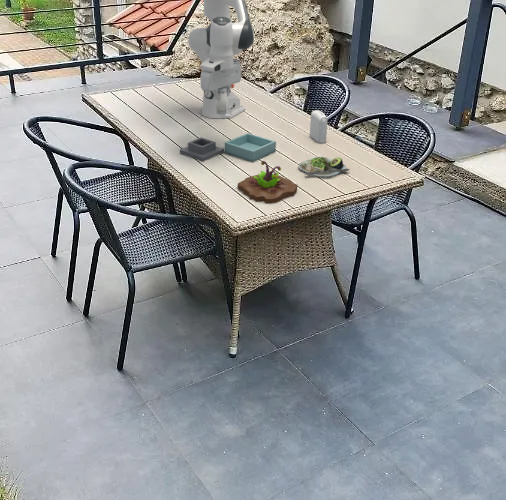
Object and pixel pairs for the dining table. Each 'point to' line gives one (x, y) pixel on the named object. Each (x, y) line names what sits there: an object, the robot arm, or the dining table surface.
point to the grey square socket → (201, 149)
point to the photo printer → (318, 126)
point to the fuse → (222, 101)
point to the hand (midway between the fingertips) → (221, 97)
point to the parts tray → (250, 147)
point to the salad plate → (323, 167)
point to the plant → (267, 186)
